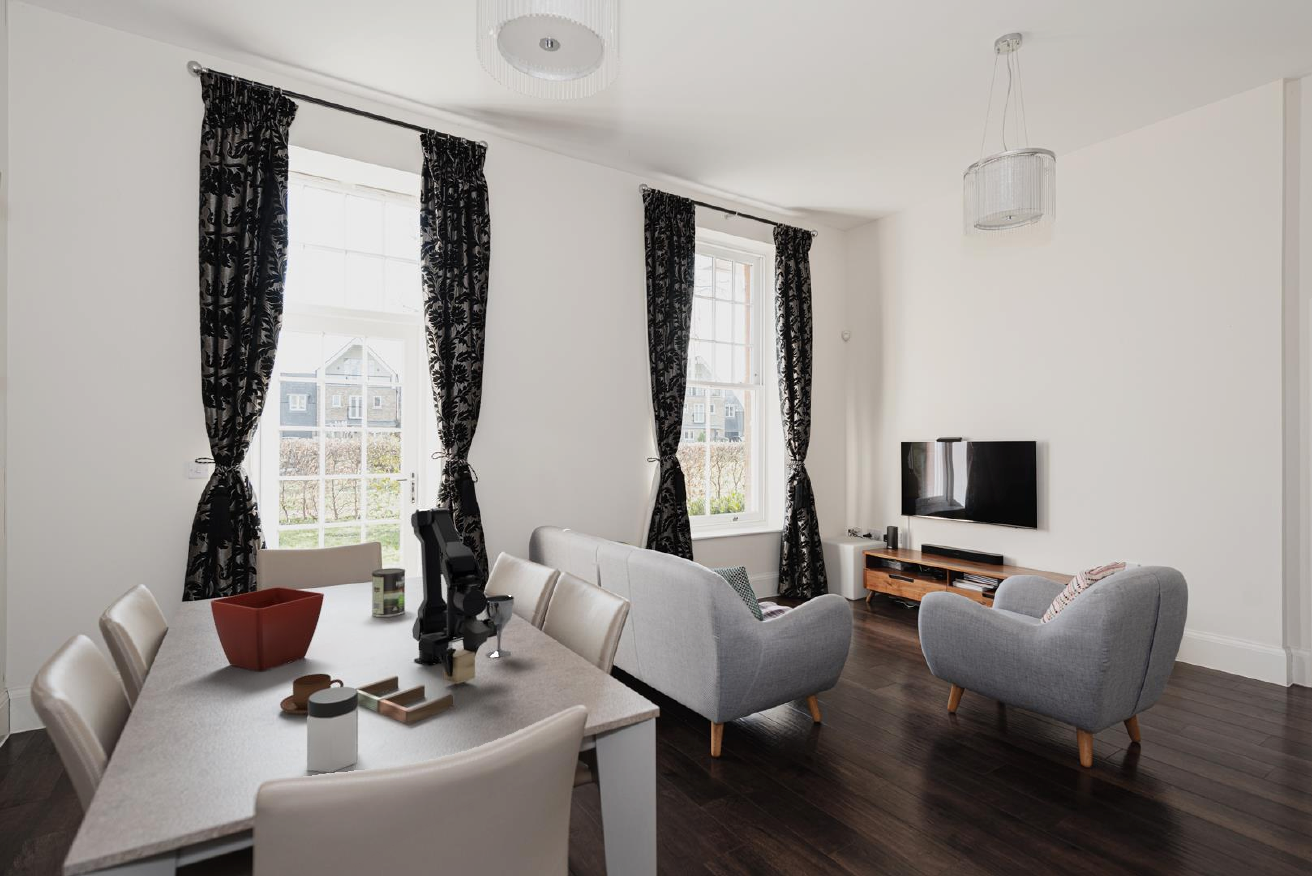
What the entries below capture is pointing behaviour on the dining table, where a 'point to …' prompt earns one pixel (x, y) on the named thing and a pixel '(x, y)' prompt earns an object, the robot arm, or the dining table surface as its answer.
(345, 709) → the jar
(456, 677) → the block
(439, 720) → the dining table surface
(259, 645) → the plant pot
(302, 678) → the cup and saucer
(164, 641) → the dining table surface
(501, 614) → the wine glass
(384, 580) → the coffee can
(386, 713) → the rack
